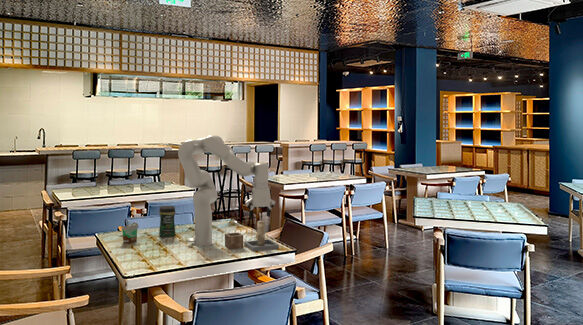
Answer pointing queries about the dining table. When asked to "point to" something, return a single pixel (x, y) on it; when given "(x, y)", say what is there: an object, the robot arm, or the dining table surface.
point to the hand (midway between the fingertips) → (259, 216)
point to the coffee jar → (167, 221)
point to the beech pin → (261, 233)
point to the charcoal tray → (268, 245)
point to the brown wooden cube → (233, 240)
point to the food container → (130, 233)
